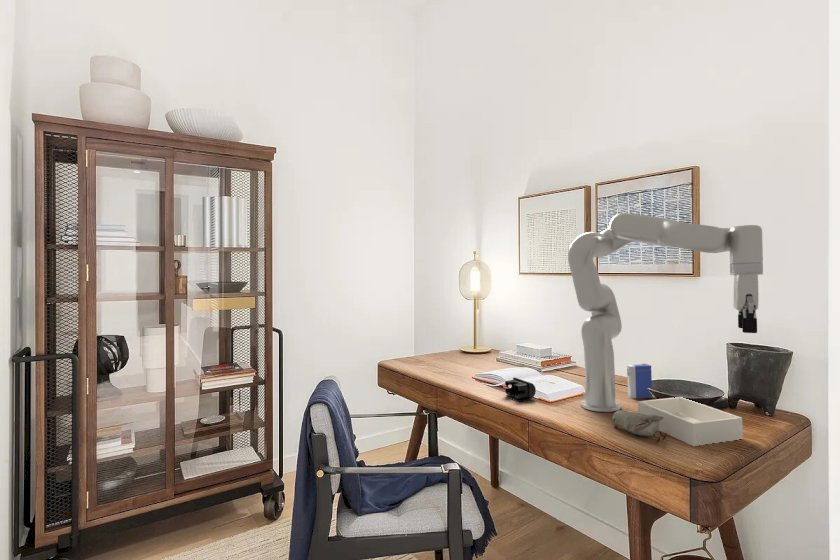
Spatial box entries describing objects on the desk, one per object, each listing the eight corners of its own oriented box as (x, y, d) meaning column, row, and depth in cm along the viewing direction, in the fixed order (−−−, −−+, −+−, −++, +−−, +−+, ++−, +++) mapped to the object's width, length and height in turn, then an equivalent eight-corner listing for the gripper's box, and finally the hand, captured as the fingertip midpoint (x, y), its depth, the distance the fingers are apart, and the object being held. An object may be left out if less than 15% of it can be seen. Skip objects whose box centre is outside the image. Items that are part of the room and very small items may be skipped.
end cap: (536, 400, 167) (535, 381, 167) (520, 402, 164) (519, 384, 164) (520, 393, 176) (519, 376, 176) (504, 396, 173) (504, 378, 173)
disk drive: (701, 399, 162) (672, 405, 157) (701, 391, 162) (672, 397, 157) (730, 406, 153) (701, 413, 147) (730, 398, 153) (700, 404, 147)
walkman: (648, 395, 167) (647, 363, 167) (652, 397, 164) (651, 364, 164) (626, 396, 167) (626, 363, 167) (630, 398, 164) (629, 365, 164)
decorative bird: (619, 426, 137) (618, 401, 137) (670, 442, 123) (670, 415, 123) (607, 429, 135) (606, 404, 135) (658, 446, 121) (657, 418, 121)
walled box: (638, 420, 141) (637, 401, 141) (681, 415, 144) (681, 396, 144) (693, 446, 120) (693, 423, 120) (742, 439, 123) (742, 417, 123)
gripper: (727, 269, 137) (728, 326, 137) (733, 270, 121) (734, 334, 122) (757, 268, 133) (758, 327, 133) (768, 269, 118) (769, 335, 118)
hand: (747, 330), depth 128 cm, fingers open, 9 cm apart
